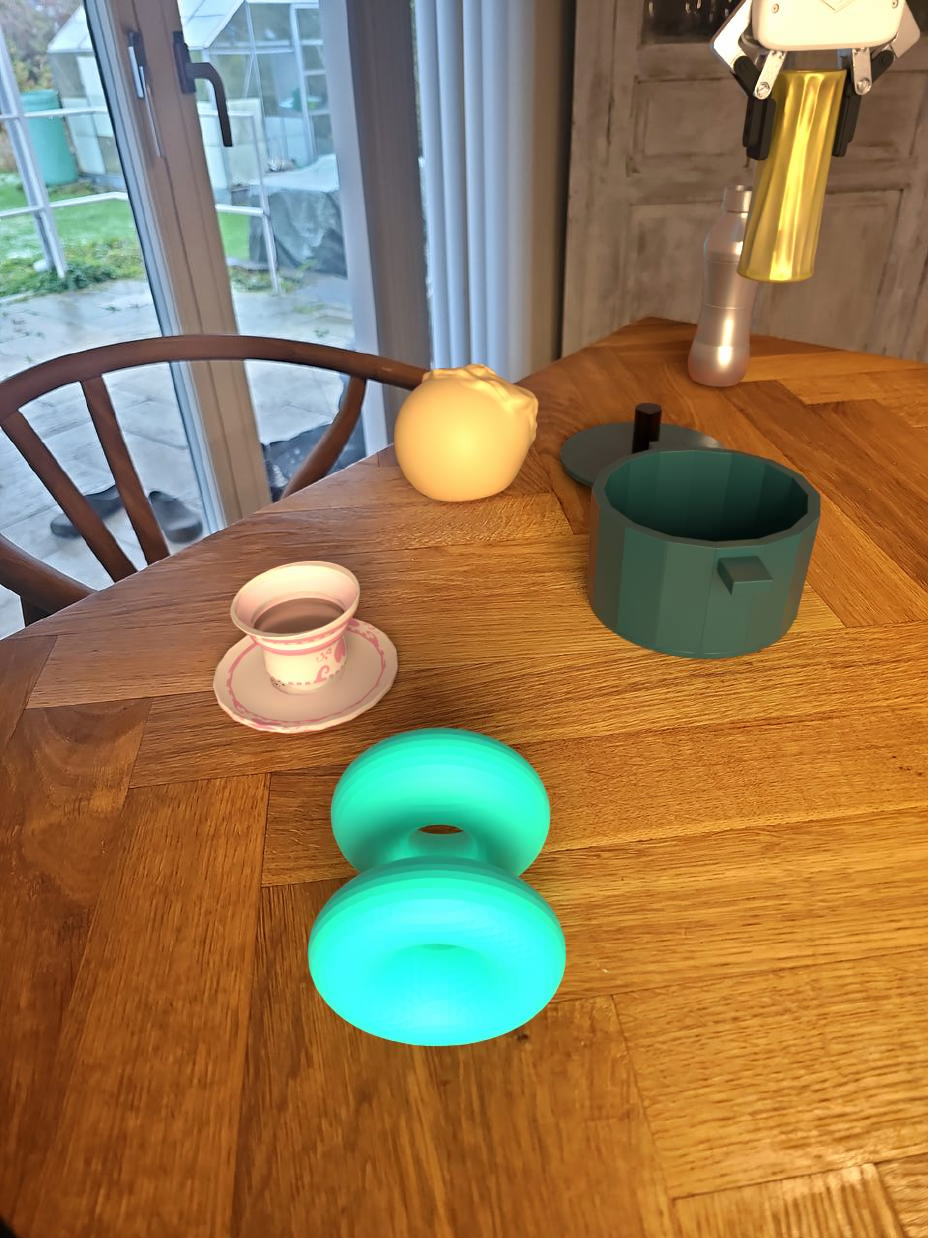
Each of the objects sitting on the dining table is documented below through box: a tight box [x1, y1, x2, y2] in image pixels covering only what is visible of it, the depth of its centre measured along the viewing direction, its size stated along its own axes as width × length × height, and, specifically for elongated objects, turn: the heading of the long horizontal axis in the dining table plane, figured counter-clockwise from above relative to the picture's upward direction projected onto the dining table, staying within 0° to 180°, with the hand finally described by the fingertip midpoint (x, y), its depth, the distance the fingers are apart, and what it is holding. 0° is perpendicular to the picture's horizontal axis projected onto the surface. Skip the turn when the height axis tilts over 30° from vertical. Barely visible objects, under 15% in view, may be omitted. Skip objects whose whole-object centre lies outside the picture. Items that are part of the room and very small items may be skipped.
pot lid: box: [559, 402, 727, 489], centre depth 78 cm, size 16×16×6 cm
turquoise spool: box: [307, 727, 567, 1047], centre depth 36 cm, size 10×10×10 cm
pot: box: [585, 440, 822, 660], centre depth 59 cm, size 15×20×8 cm
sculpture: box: [393, 363, 539, 503], centre depth 74 cm, size 11×12×11 cm
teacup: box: [212, 560, 399, 734], centre depth 54 cm, size 12×12×6 cm
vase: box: [736, 67, 847, 284], centre depth 66 cm, size 6×6×14 cm
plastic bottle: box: [687, 184, 760, 388], centre depth 90 cm, size 6×7×20 cm
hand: (794, 153), depth 65 cm, fingers closed on vase, 5 cm apart
